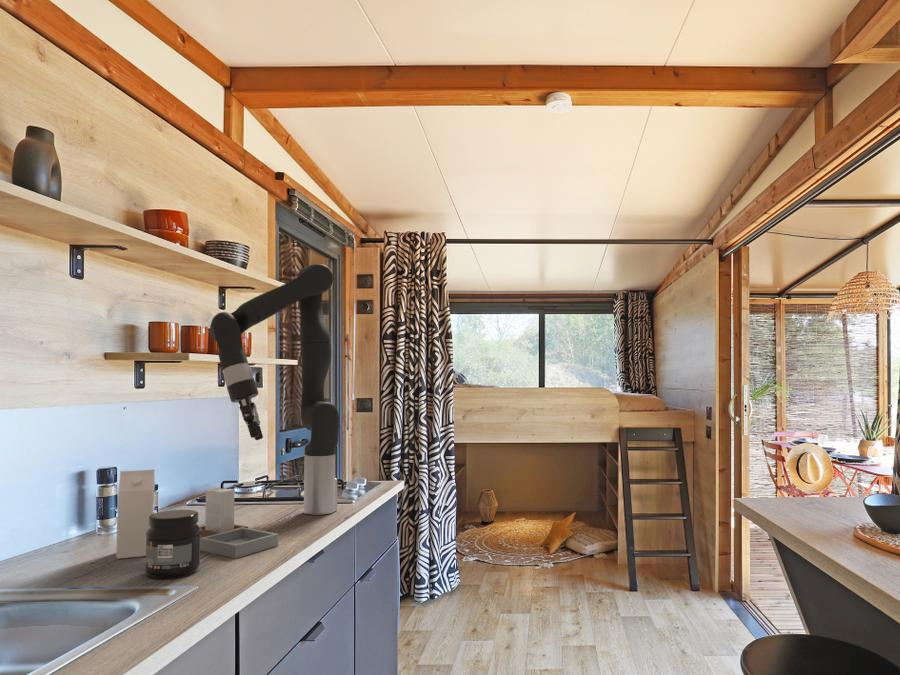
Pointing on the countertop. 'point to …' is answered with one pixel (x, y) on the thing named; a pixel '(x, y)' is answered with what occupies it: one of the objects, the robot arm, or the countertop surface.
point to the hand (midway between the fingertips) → (257, 438)
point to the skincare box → (219, 510)
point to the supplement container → (172, 544)
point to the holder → (208, 533)
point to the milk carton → (134, 512)
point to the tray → (238, 542)
